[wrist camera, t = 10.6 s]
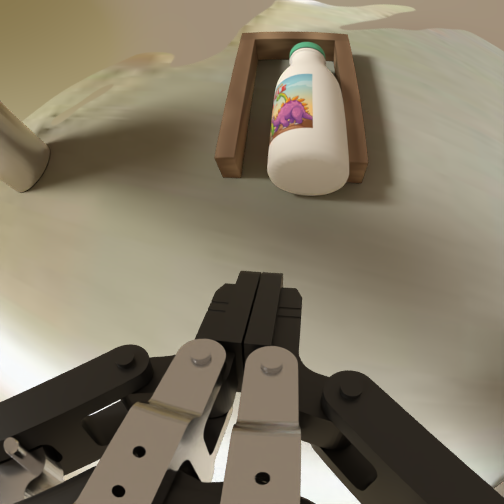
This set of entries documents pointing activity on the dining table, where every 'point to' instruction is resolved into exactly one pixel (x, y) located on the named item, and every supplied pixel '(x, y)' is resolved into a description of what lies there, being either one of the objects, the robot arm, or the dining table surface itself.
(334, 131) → the milk bottle
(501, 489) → the pot
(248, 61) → the walnut U-rest
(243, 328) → the robot arm
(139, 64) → the dining table surface
